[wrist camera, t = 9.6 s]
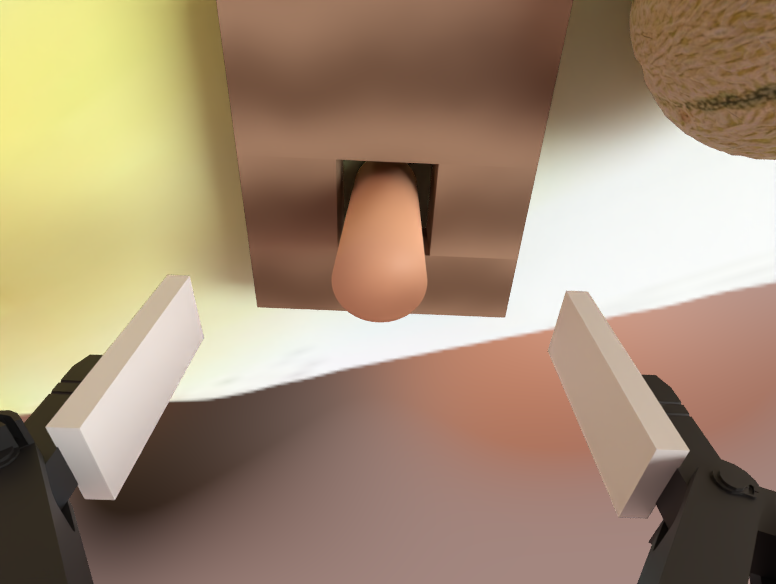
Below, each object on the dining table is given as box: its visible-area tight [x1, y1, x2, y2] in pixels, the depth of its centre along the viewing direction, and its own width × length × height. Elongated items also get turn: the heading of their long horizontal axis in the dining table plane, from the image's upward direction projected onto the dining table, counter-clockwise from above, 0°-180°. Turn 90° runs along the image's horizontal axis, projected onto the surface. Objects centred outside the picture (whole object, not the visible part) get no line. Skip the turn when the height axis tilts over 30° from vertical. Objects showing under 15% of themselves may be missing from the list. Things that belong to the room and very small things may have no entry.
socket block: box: [216, 0, 573, 317], centre depth 27 cm, size 18×16×4 cm
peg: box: [331, 161, 427, 322], centre depth 24 cm, size 4×4×12 cm
